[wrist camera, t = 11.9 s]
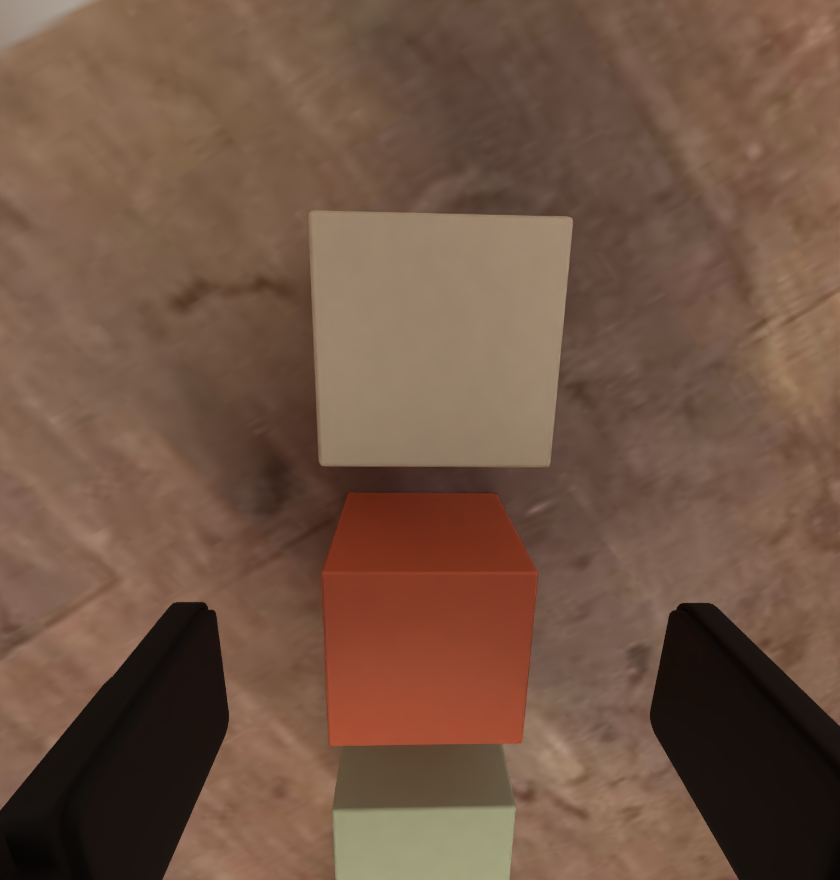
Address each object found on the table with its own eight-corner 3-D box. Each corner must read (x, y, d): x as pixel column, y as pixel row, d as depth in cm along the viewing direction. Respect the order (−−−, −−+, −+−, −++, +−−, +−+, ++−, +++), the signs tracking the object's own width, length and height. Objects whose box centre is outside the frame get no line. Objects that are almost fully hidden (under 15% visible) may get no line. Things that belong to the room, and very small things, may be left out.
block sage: (352, 670, 16) (331, 812, 11) (485, 669, 16) (517, 807, 11) (355, 774, 17) (337, 939, 12) (479, 772, 17) (505, 934, 12)
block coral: (348, 491, 14) (320, 572, 9) (496, 492, 14) (539, 572, 10) (351, 621, 15) (328, 748, 11) (488, 620, 15) (523, 745, 11)
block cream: (343, 250, 12) (306, 208, 8) (514, 253, 12) (575, 215, 8) (347, 418, 13) (317, 467, 9) (503, 419, 13) (551, 469, 9)
